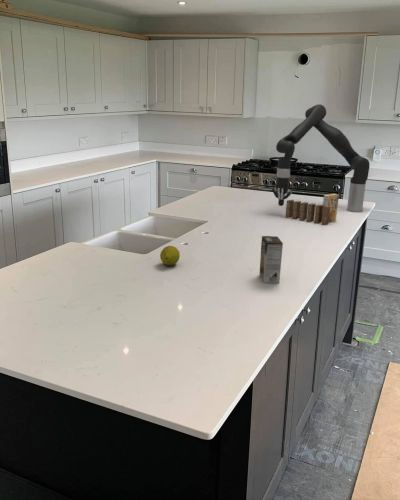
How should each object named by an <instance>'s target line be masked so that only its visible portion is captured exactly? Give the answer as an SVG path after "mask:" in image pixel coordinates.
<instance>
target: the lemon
mask: <svg viewBox="0 0 400 500" xmlns="http://www.w3.org/2000/svg"><path fill="white" fill-rule="evenodd" d="M159 254H160V256H159V257H160V261H161V263H163V264H164V265H166V266H173V265H175V264H177V263H178V261H179V260H180V255H181V254H180V250H179V249H178V248H177V246H174V245H167V246H165V247H164V248H163V249H162V250H161V251H160V253H159Z"/></svg>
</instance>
